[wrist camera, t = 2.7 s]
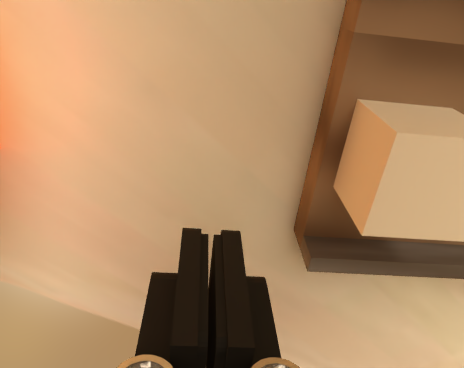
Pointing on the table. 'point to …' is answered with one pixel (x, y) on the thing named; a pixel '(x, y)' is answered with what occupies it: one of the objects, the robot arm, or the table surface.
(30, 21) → the table surface
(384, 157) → the block
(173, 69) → the table surface
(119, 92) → the table surface
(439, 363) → the table surface
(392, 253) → the board
